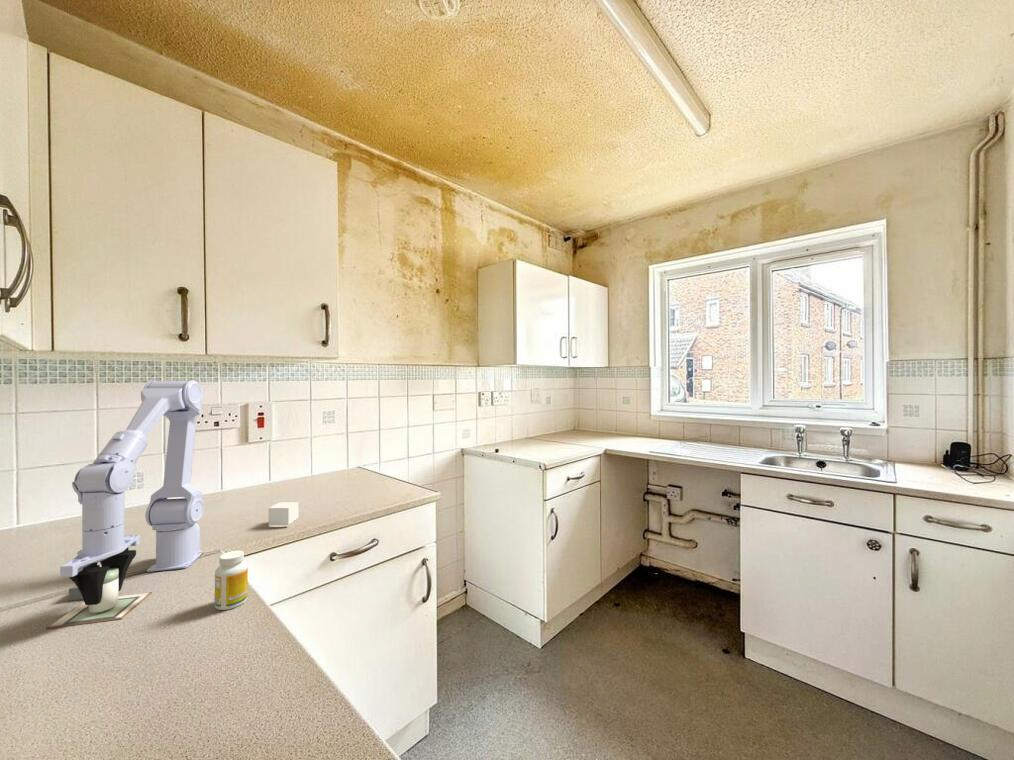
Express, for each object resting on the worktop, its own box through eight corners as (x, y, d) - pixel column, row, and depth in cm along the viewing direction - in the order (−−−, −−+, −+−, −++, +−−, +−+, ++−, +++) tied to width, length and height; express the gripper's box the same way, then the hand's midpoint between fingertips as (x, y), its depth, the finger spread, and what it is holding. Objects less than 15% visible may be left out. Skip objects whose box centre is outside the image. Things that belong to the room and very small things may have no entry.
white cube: (288, 528, 122) (288, 508, 122) (268, 528, 122) (268, 508, 122) (298, 521, 128) (298, 502, 128) (279, 521, 128) (279, 502, 128)
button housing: (87, 588, 86) (87, 577, 86) (116, 585, 87) (116, 573, 87) (68, 600, 81) (68, 588, 81) (100, 597, 82) (100, 585, 82)
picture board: (86, 600, 81) (86, 599, 81) (151, 593, 84) (151, 591, 84) (46, 628, 72) (46, 627, 72) (121, 619, 75) (121, 617, 75)
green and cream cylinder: (99, 602, 79) (99, 568, 79) (123, 599, 80) (123, 566, 80) (82, 613, 75) (83, 578, 75) (108, 611, 76) (108, 576, 76)
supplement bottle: (208, 611, 77) (208, 561, 77) (225, 597, 82) (225, 549, 82) (238, 610, 77) (238, 559, 77) (253, 595, 83) (253, 548, 83)
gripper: (114, 514, 84) (114, 580, 84) (40, 541, 70) (40, 620, 70) (150, 513, 85) (150, 578, 85) (85, 540, 70) (85, 618, 70)
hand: (103, 597), depth 77 cm, fingers closed on green and cream cylinder, 4 cm apart
